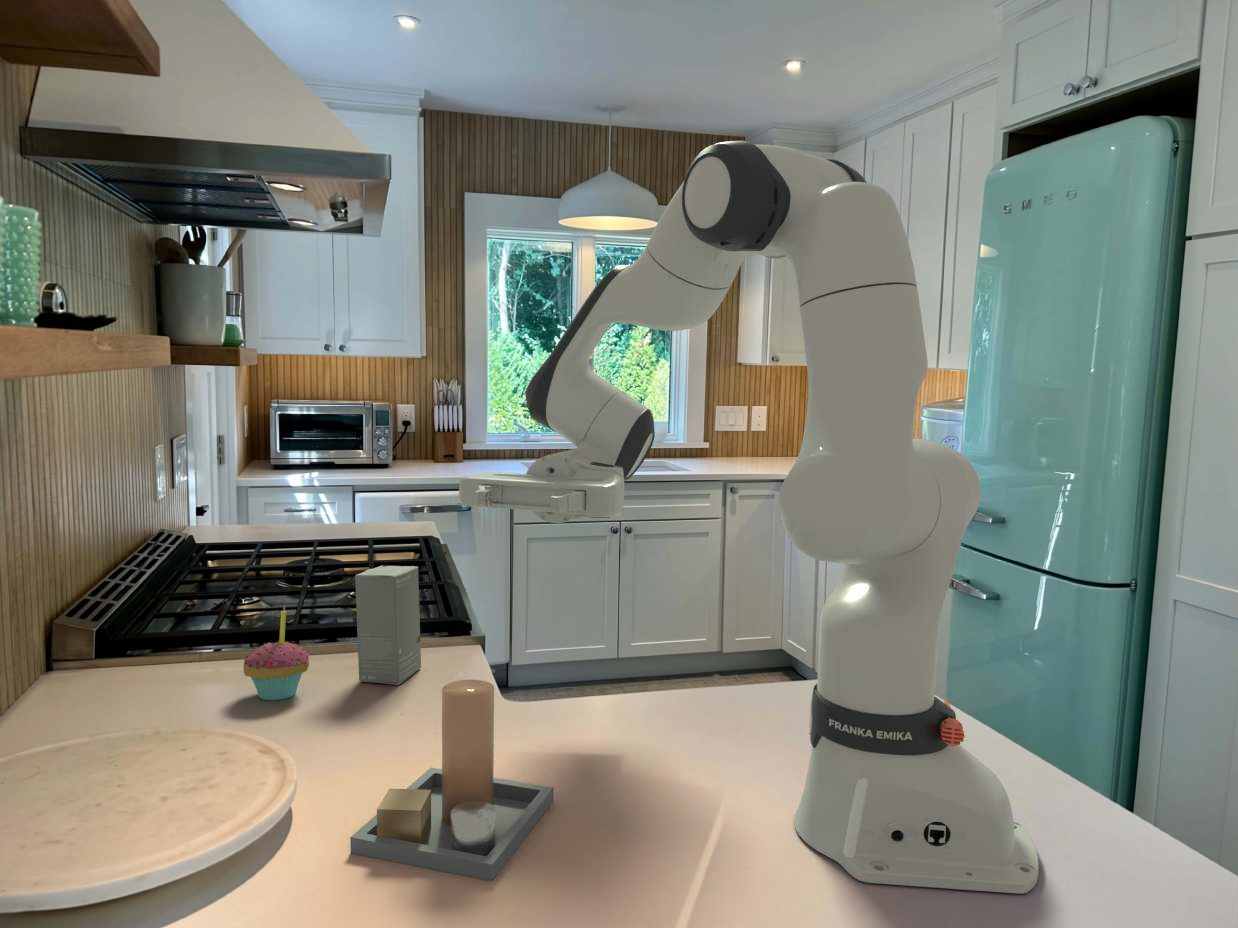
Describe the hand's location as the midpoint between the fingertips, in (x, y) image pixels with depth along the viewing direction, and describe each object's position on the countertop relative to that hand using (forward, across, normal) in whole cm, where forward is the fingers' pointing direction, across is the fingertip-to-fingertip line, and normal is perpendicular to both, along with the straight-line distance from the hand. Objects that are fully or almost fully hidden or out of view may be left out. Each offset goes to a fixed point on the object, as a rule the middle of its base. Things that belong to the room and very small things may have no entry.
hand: (517, 501), depth 101 cm
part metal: (+23, +6, +29) cm, 37 cm away
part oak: (+23, -2, +29) cm, 37 cm away
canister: (+17, +2, +29) cm, 33 cm away
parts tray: (+19, +2, +30) cm, 35 cm away
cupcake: (-7, -38, +30) cm, 49 cm away
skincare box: (-19, -28, +30) cm, 45 cm away
